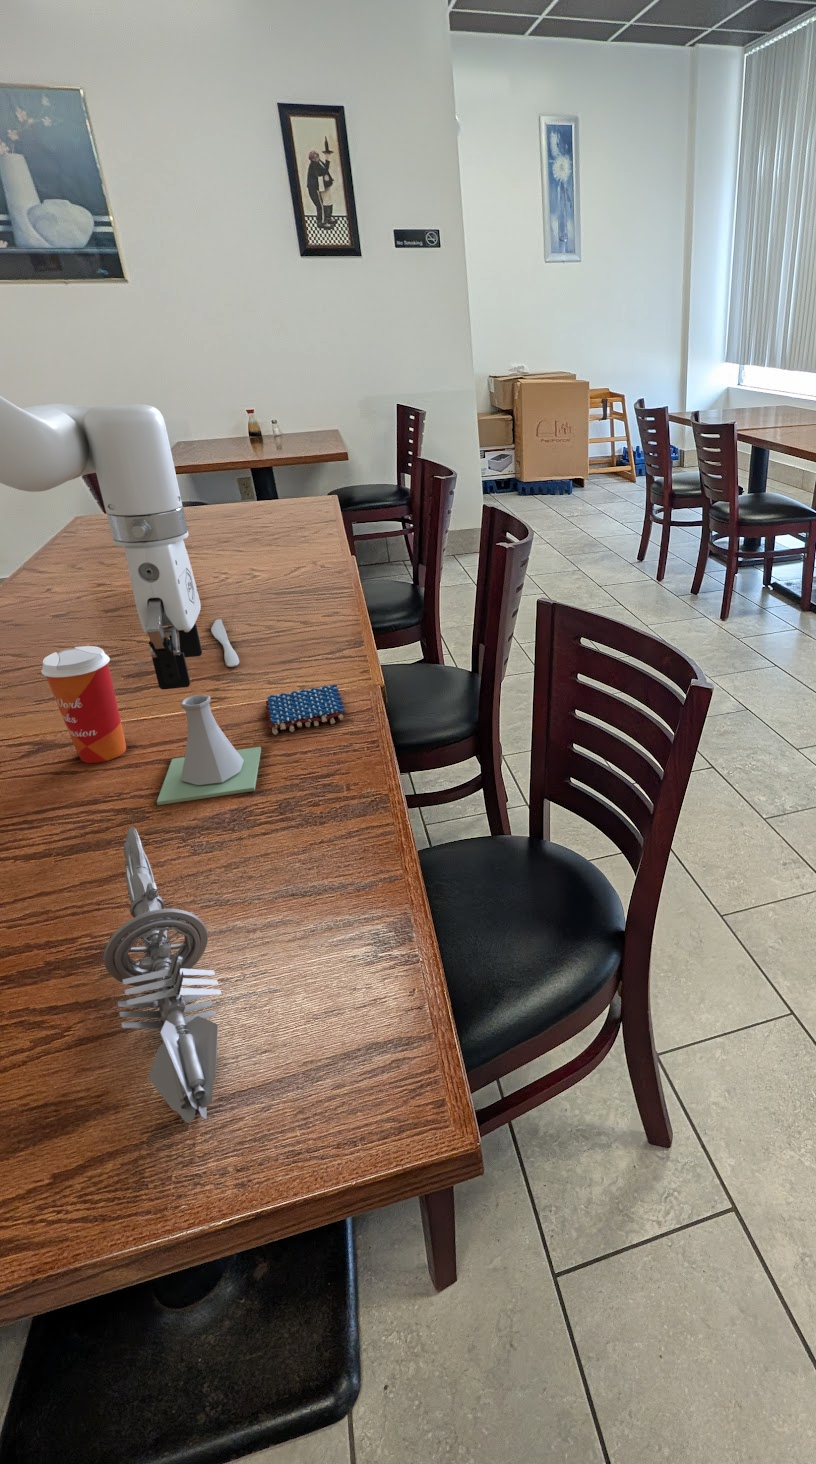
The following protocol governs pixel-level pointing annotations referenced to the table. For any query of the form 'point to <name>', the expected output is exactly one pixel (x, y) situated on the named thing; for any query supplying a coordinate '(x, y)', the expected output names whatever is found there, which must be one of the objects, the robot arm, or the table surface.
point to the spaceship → (166, 987)
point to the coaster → (238, 783)
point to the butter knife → (225, 643)
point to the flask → (207, 746)
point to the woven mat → (304, 708)
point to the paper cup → (87, 701)
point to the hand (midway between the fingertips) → (182, 671)
